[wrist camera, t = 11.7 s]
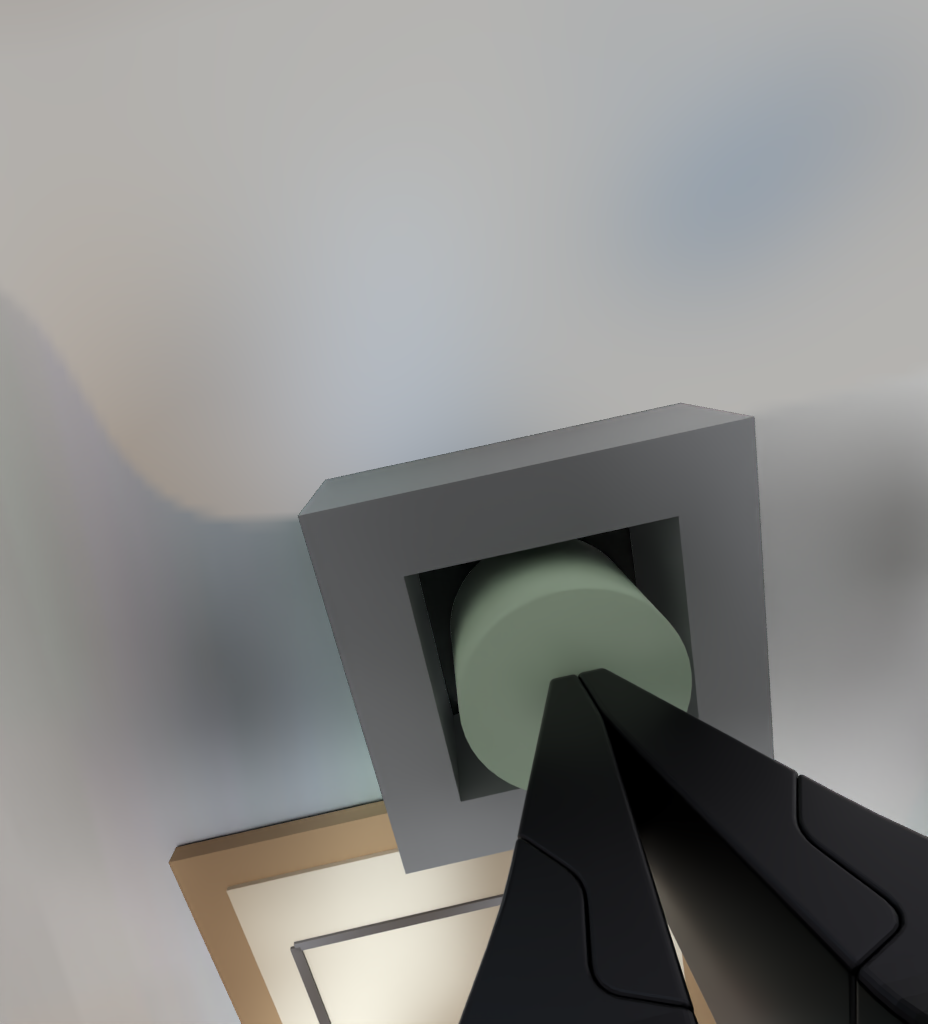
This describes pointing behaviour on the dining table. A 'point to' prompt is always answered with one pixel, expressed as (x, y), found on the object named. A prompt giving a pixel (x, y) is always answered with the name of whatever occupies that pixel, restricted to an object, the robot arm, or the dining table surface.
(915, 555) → the dining table surface
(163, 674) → the dining table surface
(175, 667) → the dining table surface
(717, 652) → the button housing
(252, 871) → the drawing board
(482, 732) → the button
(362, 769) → the dining table surface
